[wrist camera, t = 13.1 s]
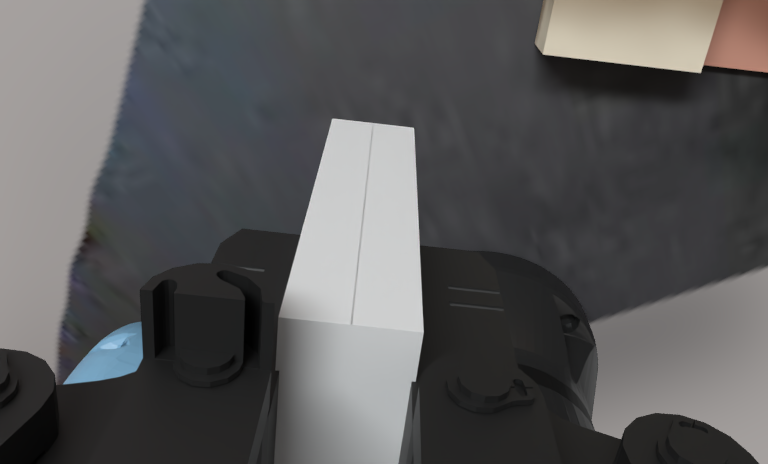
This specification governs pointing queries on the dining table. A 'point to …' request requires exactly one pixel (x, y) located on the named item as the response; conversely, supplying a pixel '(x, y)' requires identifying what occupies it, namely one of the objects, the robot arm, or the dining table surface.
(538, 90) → the dining table surface
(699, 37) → the platform
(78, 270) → the dining table surface
